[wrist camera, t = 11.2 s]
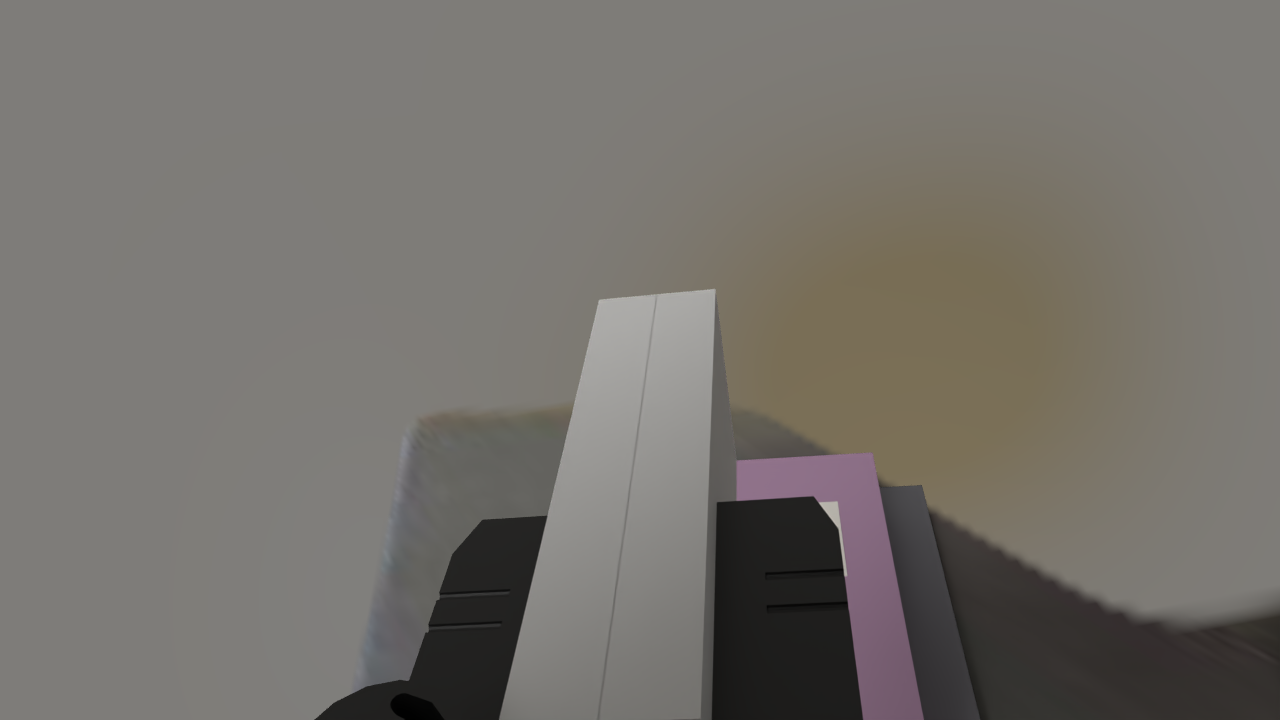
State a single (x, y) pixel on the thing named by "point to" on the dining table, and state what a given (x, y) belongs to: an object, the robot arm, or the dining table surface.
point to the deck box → (853, 567)
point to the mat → (927, 608)
